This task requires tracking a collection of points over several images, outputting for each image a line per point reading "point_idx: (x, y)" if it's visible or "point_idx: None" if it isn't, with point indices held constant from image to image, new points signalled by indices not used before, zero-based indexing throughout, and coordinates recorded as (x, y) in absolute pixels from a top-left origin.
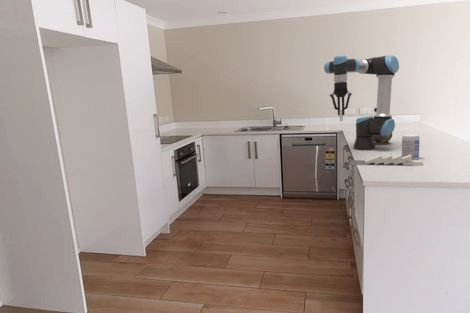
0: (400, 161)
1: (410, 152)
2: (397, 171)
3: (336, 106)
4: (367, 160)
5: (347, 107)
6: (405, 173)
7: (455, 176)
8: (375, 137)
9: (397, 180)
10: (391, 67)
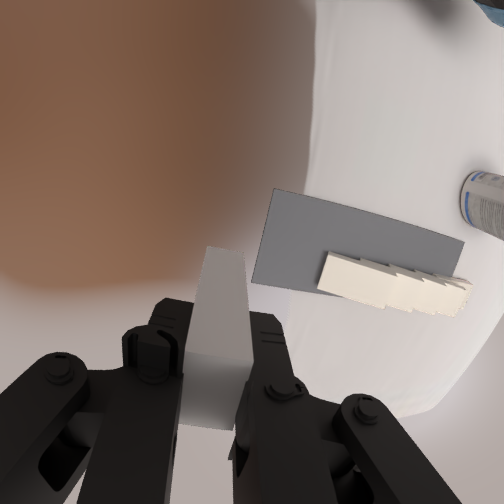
0: None
1: (486, 232)
2: (375, 360)
3: (59, 431)
4: (330, 283)
5: (387, 418)
6: (382, 375)
7: (445, 383)
8: None
9: None
10: None
